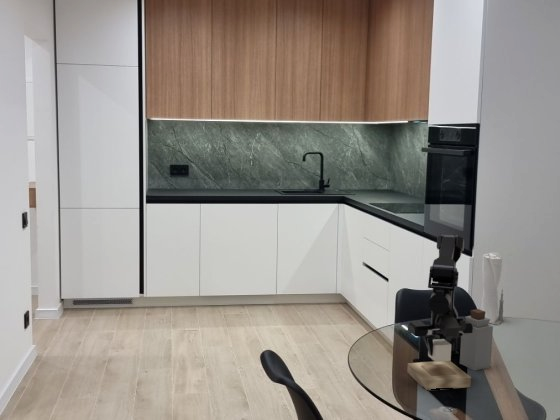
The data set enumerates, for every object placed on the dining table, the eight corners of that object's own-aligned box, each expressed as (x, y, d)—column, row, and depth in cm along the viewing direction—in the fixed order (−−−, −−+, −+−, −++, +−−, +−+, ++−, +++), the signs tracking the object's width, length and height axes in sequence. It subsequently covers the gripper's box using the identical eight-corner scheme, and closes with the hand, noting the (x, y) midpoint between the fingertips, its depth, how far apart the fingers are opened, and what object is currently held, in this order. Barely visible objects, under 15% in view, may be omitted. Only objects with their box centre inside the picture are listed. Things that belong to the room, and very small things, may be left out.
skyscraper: (497, 326, 258) (501, 254, 254) (476, 322, 262) (480, 251, 258) (503, 320, 265) (507, 250, 261) (482, 317, 269) (486, 248, 265)
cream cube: (443, 354, 208) (443, 339, 207) (450, 360, 203) (451, 344, 202) (427, 355, 207) (428, 340, 206) (435, 361, 202) (435, 345, 201)
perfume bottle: (474, 370, 213) (477, 315, 211) (459, 363, 219) (462, 309, 217) (490, 367, 217) (493, 312, 214) (475, 360, 222) (478, 306, 220)
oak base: (449, 369, 214) (449, 359, 213) (470, 387, 200) (470, 376, 200) (407, 372, 211) (407, 362, 211) (426, 390, 197) (426, 380, 197)
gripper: (423, 314, 193) (421, 366, 195) (483, 310, 197) (480, 362, 199) (408, 303, 203) (406, 353, 206) (465, 300, 207) (462, 349, 210)
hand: (439, 354), depth 205 cm, fingers closed on cream cube, 5 cm apart
